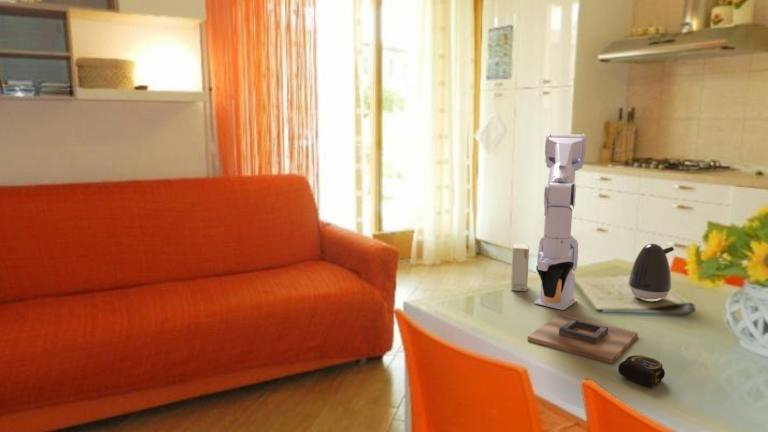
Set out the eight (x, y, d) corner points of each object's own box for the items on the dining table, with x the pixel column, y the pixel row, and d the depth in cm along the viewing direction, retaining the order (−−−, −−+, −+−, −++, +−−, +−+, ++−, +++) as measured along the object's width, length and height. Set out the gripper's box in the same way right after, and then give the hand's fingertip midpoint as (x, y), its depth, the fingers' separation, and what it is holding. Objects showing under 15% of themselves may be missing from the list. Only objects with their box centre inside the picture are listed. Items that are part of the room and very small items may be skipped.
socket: (559, 317, 138) (560, 307, 137) (637, 336, 126) (638, 325, 126) (527, 340, 124) (528, 329, 123) (611, 364, 113) (612, 352, 112)
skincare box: (527, 292, 157) (529, 249, 154) (511, 291, 157) (513, 248, 155) (526, 285, 163) (528, 243, 161) (510, 284, 164) (512, 243, 161)
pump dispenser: (677, 305, 147) (683, 248, 144) (637, 305, 147) (642, 248, 144) (659, 292, 157) (664, 239, 154) (621, 292, 157) (626, 239, 154)
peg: (548, 297, 131) (549, 276, 130) (563, 300, 129) (564, 279, 128) (541, 300, 129) (542, 279, 128) (556, 304, 126) (557, 282, 125)
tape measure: (615, 378, 107) (616, 359, 107) (636, 368, 111) (637, 351, 110) (649, 393, 102) (651, 373, 101) (670, 382, 106) (672, 364, 105)
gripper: (553, 228, 134) (549, 283, 136) (525, 239, 123) (522, 298, 125) (582, 233, 129) (578, 289, 132) (556, 244, 119) (552, 305, 121)
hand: (553, 294), depth 128 cm, fingers closed on peg, 4 cm apart
